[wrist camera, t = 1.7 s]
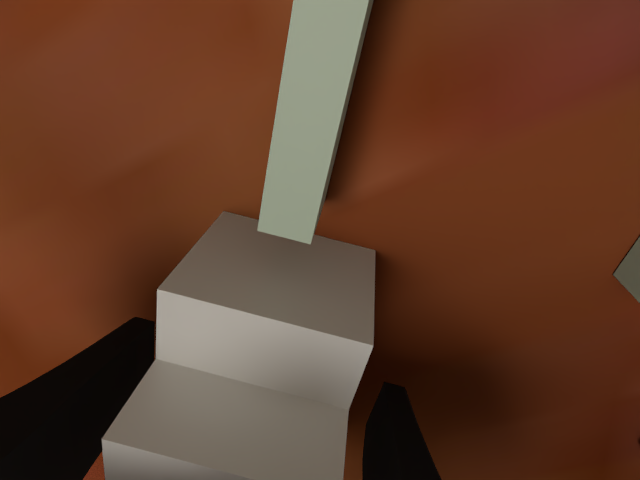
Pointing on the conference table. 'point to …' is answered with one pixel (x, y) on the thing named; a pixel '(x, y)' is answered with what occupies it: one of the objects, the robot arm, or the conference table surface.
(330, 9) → the pale green slab
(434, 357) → the conference table surface
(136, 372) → the robot arm
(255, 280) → the stepped cream block
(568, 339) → the conference table surface
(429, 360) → the conference table surface
